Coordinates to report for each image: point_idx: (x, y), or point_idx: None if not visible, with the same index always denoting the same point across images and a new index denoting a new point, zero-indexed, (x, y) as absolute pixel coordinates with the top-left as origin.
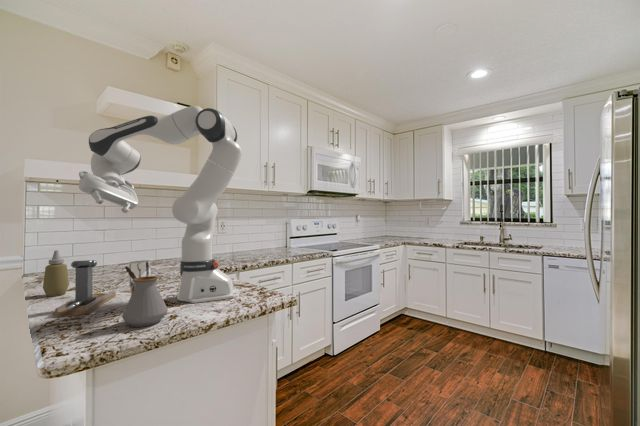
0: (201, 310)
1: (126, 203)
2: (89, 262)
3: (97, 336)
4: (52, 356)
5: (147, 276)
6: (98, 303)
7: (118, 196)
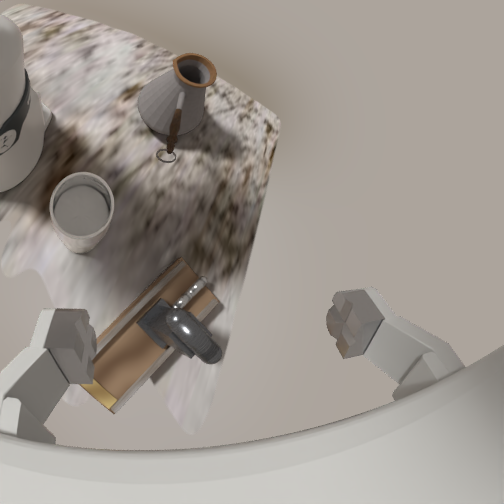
0: (90, 73)
1: (24, 417)
2: (190, 316)
3: (228, 132)
4: (274, 130)
5: (181, 76)
6: (140, 296)
7: (174, 460)
